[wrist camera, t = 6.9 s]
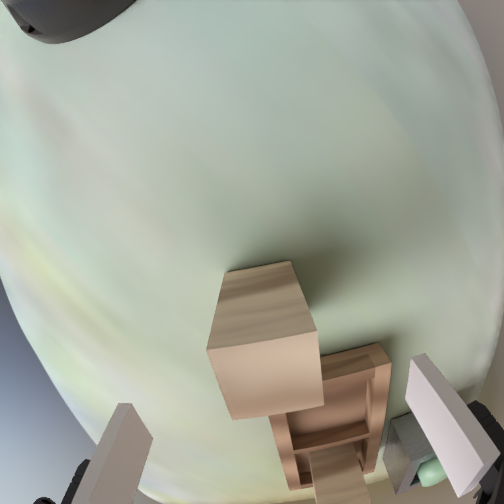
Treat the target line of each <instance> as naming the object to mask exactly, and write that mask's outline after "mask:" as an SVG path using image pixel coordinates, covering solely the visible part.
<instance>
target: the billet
mask: <svg viewBox="0 0 504 504" xmlns="http://www.w3.org/2000/svg"><path fill="white" fill-rule="evenodd" d="M206 351H207V353H208V356H209V359H210V362H211V365H212V368H213V370H214V373H215V376H216V379H217V381H218V384H219V387H220V389H221V392H222V395H223V397H224V400H225V403H226V405H227V408H228V410H229V413H230V415H231V418H232V420H236V419H245V418H254V417H261V416H269V415H275V414H281V413H287V412H293V411H299V410H304V409H309V408H314V407H318V406H323V405H324V397H323V385H322V374H321V363H320V353H319V344H318V335H317V329H316V327H315V324H314V321H313V319H312V316H311V313H310V311H309V308H308V305H307V303H306V300H305V298H304V295H303V292H302V290H301V287H300V285H299V282H298V280H297V277H296V274H295V272H294V269H293V267H292V264H291V262H290V261H284V262H279V263H274V264H269V265H264V266H259V267H253V268H248V269H243V270H238V271H232V272H227V273H225V274H224V278H223V282H222V286H221V290H220V294H219V298H218V302H217V306H216V311H215V315H214V319H213V323H212V327H211V332H210V336H209V340H208V345H207V349H206Z"/></svg>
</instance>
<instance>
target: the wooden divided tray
mask: <svg viewBox="0 0 504 504" xmlns="http://www.w3.org/2000/svg"><path fill="white" fill-rule="evenodd" d="M320 363H321V374H322V385H323V397H324V405H323V406H318V407H314V408H309V409H304V410H299V411H293V412H287V413H281V414H275V415H269V420H270V424H271V427H272V431H273V434H274V438H275V442H276V445H277V449H278V452H279V456H280V459H281V463H282V466H283V470H284V473H285V476H286V480H287V483H288V487H289V490H290V491H291V490H297V489H303V488H309V487H313V481H312V474H311V468H310V462H309V455H308V452H310V451H315V450H320V449H324V448H329V447H333V446H337V445H342V444H345V443H349V442H353V445H354V448H355V451H356V454H357V457H358V461H359V464H360V467H361V470H362V474H363V475H364V474H368V473H371V472H374V469H375V465H376V461H377V456H378V452H379V447H380V442H381V437H382V431H383V426H384V420H385V413H386V407H387V400H388V392H389V383H390V374H391V364H392V362H391V361H390V359H389V357H388V356H387V354H386V353H385V351H384V350H383V348H382V347H381V345H380V344H379V342H378V343H374V344H371V345H367V346H363V347H360V348H356V349H352V350H348V351H344V352H340V353H336V354H331V355H327V356H323V357H320Z"/></svg>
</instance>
